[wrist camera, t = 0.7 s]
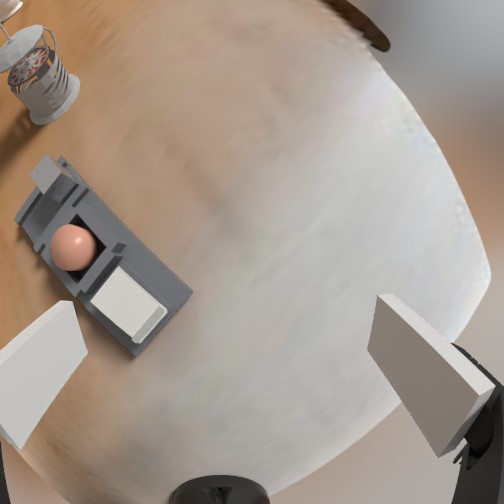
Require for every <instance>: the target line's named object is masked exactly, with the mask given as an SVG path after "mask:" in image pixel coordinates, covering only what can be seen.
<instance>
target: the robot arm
mask: <svg viewBox="0 0 504 504" xmlns="http://www.w3.org/2000/svg"><path fill="white" fill-rule="evenodd" d="M367 350H368V352H369V353H370V355H371V356H372V357H373V359H374V360H375V362H376V363H377V365H378V366H379V368H380V369H381V370H382V372H383V373H384V375H385V376H386V378H387V379H388V381H389V382H390V384H391V385H392V387H393V388H394V390H395V391H396V393H397V394H398V396H399V397H400V399H401V400H402V402H403V403H404V405H405V406H406V408H407V410H408V411H409V413H410V414H411V416H412V417H413V419H414V420H415V422H416V423H417V425H418V427H419V428H420V430H421V431H422V433H423V435H424V436H425V438H426V439H427V441H428V442H429V444H430V446H431V447H432V449H433V451H434V452H435V454H436V456H437V457H438V458H439V457H441V456H443V455H445V454H447V453H448V452H450V451H452V450H454V449H455V448H456V447H457V446H458V445H459V443H460V442H461V440H462V439H463V438H465V439H466V441H467V444H466V445H465V446H464V448H463V449H462V450H461V451H460V453H459V454H458V455H457V456H456V458H455V459H454V461H453V463H456V462H457V461H458V460H459V459H460V458H461V456H462V461H461V462H460V463H459V464H461V466H460V472H459V476H458V481H457V485H456V489H455V493H454V497H453V500H452V503H451V504H504V386H503V385H501V383H499V382H498V381H497V380H496V379H495V378H494V377H493V376H492V375H491V374H490V373H489V372H488V371H487V370H486V369H485V368H484V367H483V366H482V365H480V364H478V362H477V361H476V360H475V359H474V358H471V355H470V354H468V353H467V352H466V351H465V350H464V349H463V348H461V347H459V346H457V345H455V344H453V343H450V342H449V341H447V340H446V339H445V338H444V337H443V336H442V335H441V334H440V333H438V332H437V331H436V330H435V329H434V328H433V327H432V326H430V325H429V324H428V323H427V322H426V321H425V320H423V319H422V318H421V317H420V316H419V315H418V314H416V313H415V312H414V311H413V310H412V309H410V308H409V307H408V306H407V305H406V304H404V303H403V302H402V301H401V300H400V299H398V298H397V297H396V296H395V295H393V294H385V295H377V301H376V308H375V313H374V319H373V324H372V330H371V335H370V339H369V344H368V349H367ZM87 354H88V352H87V349H86V346H85V343H84V340H83V337H82V334H81V330H80V327H79V324H78V320H77V317H76V313H75V309H74V305H73V302H72V301H62V300H60V301H59V302H58V303H56V304H55V305H54V306H53V307H51V308H50V309H49V310H48V311H46V312H45V313H44V314H43V315H41V316H40V317H39V318H38V319H36V320H35V321H34V322H33V323H32V324H30V325H29V326H28V327H27V328H26V329H24V330H23V331H22V332H21V333H20V334H18V335H17V336H16V337H15V338H14V339H13V340H12V341H10V342H9V343H8V344H7V345H6V346H5V347H4V348H3V349H1V350H0V433H1V435H2V436H3V437H4V438H5V440H6V441H7V442H8V443H10V444H11V445H13V446H15V447H16V448H18V449H20V450H21V449H22V447H23V445H24V444H25V442H26V441H27V439H28V437H29V436H30V434H31V433H32V431H33V429H34V428H35V426H36V425H37V423H38V422H39V420H40V419H41V417H42V416H43V414H44V413H45V411H46V410H47V408H48V407H49V406H50V404H51V403H52V401H53V400H54V398H55V397H56V395H57V394H58V393H59V391H60V390H61V388H62V387H63V386H64V384H65V383H66V382H67V380H68V379H69V377H70V376H71V375H72V373H73V372H74V371H75V369H76V368H77V367H78V365H79V364H80V363H81V361H82V360H83V359H84V357H85V356H86V355H87ZM0 504H11V503H10V499H9V494H8V490H7V485H6V479H5V474H4V467H3V460H2V451H1V442H0ZM173 504H270V501H269V498H268V495H267V492H266V490H265V489H264V488H263V487H262V486H261V485H260V484H258V483H256V482H254V481H252V480H249V479H246V478H242V477H237V476H228V475H215V476H206V477H200V478H196V479H193V480H190V481H188V482H186V483H184V484H183V485H181V486H180V487H179V488H178V489H177V490H176V491H175V493H174V497H173Z"/></svg>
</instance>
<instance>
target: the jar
mask: <svg viewBox="0 0 504 504" xmlns="http://www.w3.org/2000/svg"><path fill="white" fill-rule="evenodd" d="M22 4H23V3H22V2H20V0H0V22H3V21H5V20H7V19H8V18H10V17H11V16H12V15H13V14H14V13H16V12H17V11H18V10H19V9H20V7H21V6H22Z"/></svg>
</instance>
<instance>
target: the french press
mask: <svg viewBox="0 0 504 504" xmlns="http://www.w3.org/2000/svg"><path fill="white" fill-rule="evenodd" d="M0 27H1V28H2V30H3V31H4V33H5V34H6V36H7V37H8V38H9V39H8V40H7V41H6V42H5V44H4V45H3V46H2V48H1V49H0V73H4V72H6V71H8V70H9V69H11V68H12V69H11V71H10V73H9V76H8V84H9V85H10V86H11V91H12V92H13V93H14V94H15V95H16V97H17V98H18V99H20V101H21V102H22V103H24V105H25V106H26V107H28V109H29V110H30V113H29V114H30V118H31V121H32V122H33V123H35V124H36V125H46V124H48V123H50V122H53V121H55V120H56V119H58V118H59V117H60V116H61V115H63V114H64V113H65V112H66V111H67V110H68V109H69V108H70V106H71V105H72V104H73V103H74V101H75V99H76V97H77V95H78V93H79V89H80V82H79V80H78V77H76V76H74V75H72V74H67V72H66V70H65V69H64V67H63V65H62V64H61V62H60V60H59V59H58V57H57V55H56V48H57V47H56V42H55V38H54V36H53V34H52V32H51V31H50V30H49V29H48V28H46V27H42V26H41V25H34V26H30V27H27V28H25V29H22V30H20V31H18V32H17V33H16V34H14V35H13V36H12V37H9V35H8V34H7V32H6V31H5V29H4V28H3V26H2V25H1V23H0ZM43 29H46V30H47V31H49V32H50V34H51V36H52V38H53V40H54V45H55V52H54V51H53V50H50V48H49V46H47V42H46V39H45V38H44V36H43V35H42V34H43ZM41 36H42V38H43V40H44V42H45V45H41V46H36V45H37V43H38V42H39V41H40V38H41ZM35 46H36V47H35ZM48 58H49V59H50V61H51V62H52V64H53V65H52V66H51V68H50V67H49V65H48V64H47V59H48ZM56 70H57V72H58V74H57V77H56V76H55V73H56ZM35 76H38V78H36V79H35V80H33V81H32V82H31V83H30V84H29V85H28V87H27V89H26V90H25V91H24V89H25V86H26V84H27V83H28V82H29V81H30V80H31V79H32V78H33V77H35ZM38 80H40V81H38ZM37 81H38V82H37ZM35 82H37V83H36V84H35V85H33V84H34V83H35ZM23 83H24V84H23ZM21 84H23V87H22V92H20V86H21ZM32 85H33V86H32ZM16 86H18V93H17V89H16ZM31 86H32V87H31Z"/></svg>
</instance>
